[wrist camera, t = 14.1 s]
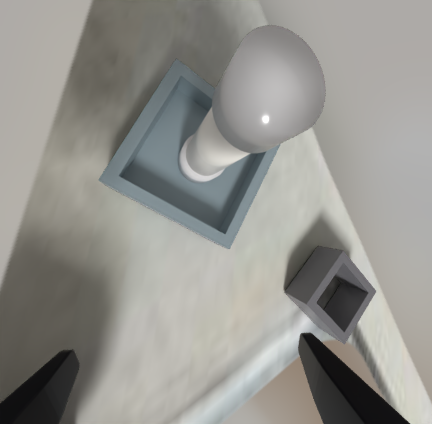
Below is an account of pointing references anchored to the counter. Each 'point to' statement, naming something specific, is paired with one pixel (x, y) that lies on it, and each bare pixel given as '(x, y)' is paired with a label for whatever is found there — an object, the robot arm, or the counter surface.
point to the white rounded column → (256, 103)
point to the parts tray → (168, 163)
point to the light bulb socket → (342, 299)
